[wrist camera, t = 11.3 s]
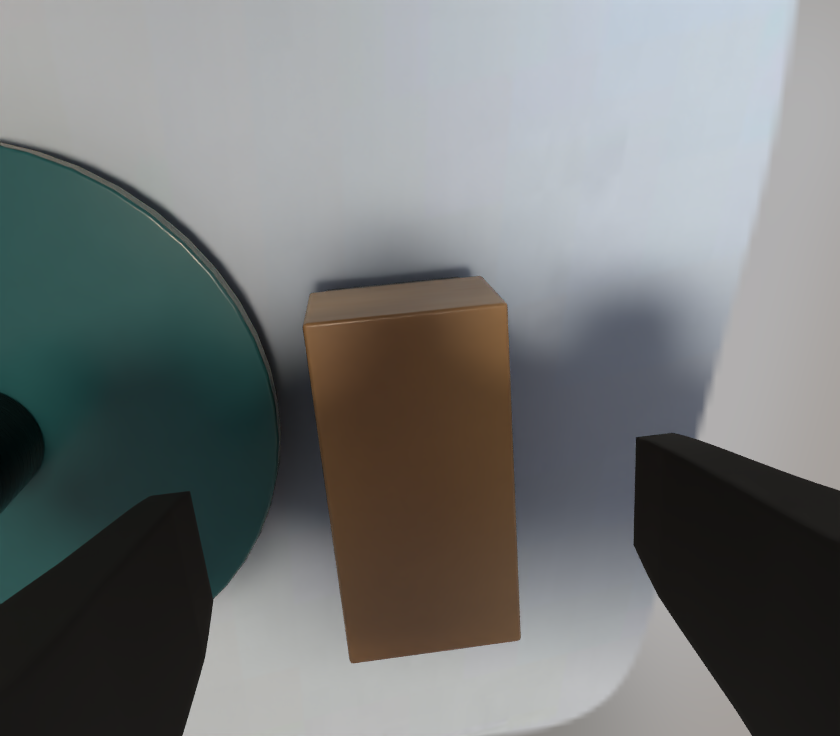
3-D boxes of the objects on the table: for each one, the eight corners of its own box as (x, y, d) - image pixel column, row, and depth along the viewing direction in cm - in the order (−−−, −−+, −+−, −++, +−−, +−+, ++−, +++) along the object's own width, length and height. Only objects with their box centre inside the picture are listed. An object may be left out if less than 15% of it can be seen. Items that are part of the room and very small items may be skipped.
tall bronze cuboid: (470, 262, 14) (507, 302, 11) (486, 538, 16) (521, 641, 13) (312, 278, 14) (301, 324, 11) (349, 555, 16) (349, 664, 13)
